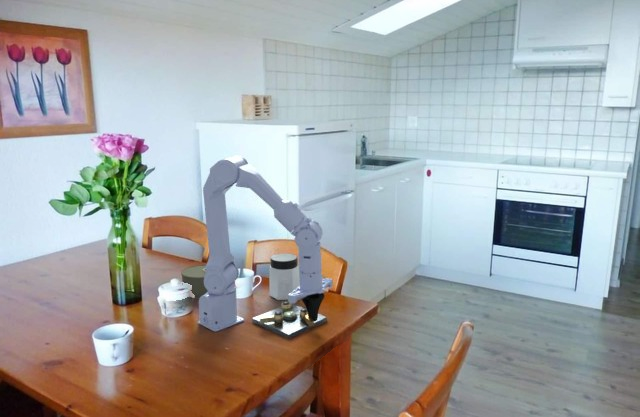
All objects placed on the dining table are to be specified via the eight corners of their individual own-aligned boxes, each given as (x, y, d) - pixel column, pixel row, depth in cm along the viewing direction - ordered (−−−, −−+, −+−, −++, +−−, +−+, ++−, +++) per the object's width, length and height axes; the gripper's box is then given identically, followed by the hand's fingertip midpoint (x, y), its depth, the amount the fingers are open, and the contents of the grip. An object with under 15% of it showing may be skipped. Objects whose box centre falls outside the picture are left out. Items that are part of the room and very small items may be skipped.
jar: (270, 301, 150) (269, 262, 147) (269, 291, 158) (268, 253, 155) (300, 299, 151) (300, 260, 148) (298, 289, 159) (297, 252, 156)
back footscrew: (289, 312, 138) (289, 304, 137) (280, 312, 138) (280, 303, 138) (295, 304, 143) (295, 296, 143) (287, 303, 144) (287, 295, 143)
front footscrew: (298, 317, 135) (298, 308, 135) (307, 315, 136) (306, 307, 135) (307, 327, 129) (307, 318, 128) (316, 326, 130) (316, 317, 129)
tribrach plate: (288, 338, 126) (288, 328, 125) (252, 322, 135) (252, 312, 135) (326, 321, 136) (326, 311, 135) (290, 307, 145) (290, 298, 145)
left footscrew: (282, 318, 134) (281, 310, 133) (284, 322, 132) (283, 313, 131) (259, 321, 132) (259, 312, 132) (261, 325, 130) (260, 316, 130)
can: (176, 290, 158) (174, 269, 157) (211, 282, 165) (210, 262, 164) (192, 302, 149) (191, 280, 147) (229, 293, 156) (228, 271, 155)
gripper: (301, 281, 120) (303, 334, 123) (341, 265, 131) (342, 315, 134) (280, 275, 125) (283, 326, 128) (320, 260, 135) (322, 308, 138)
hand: (312, 320), depth 131 cm, fingers closed, pressing on front footscrew
